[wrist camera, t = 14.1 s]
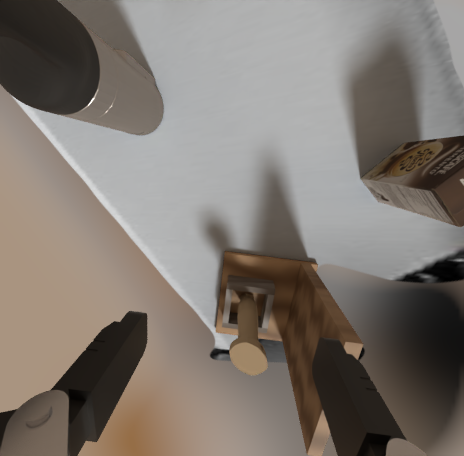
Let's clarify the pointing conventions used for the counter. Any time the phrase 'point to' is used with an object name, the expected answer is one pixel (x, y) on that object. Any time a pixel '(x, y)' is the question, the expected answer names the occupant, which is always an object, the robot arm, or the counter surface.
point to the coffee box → (423, 179)
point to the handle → (248, 339)
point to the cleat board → (265, 272)
